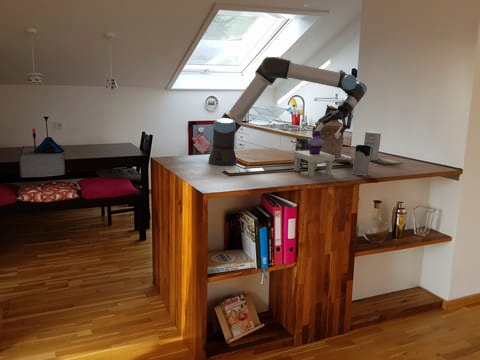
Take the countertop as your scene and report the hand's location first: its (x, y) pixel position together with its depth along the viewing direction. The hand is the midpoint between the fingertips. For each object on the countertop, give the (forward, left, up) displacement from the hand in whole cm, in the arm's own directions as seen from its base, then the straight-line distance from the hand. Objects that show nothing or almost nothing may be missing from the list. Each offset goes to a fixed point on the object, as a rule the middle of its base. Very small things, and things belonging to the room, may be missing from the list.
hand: (325, 135), depth 240 cm
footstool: (-9, -3, -19) cm, 21 cm away
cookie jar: (+29, +30, -19) cm, 46 cm away
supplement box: (+53, +17, -19) cm, 59 cm away
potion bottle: (-9, -3, -9) cm, 13 cm away
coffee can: (+2, +19, -19) cm, 27 cm away
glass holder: (+17, -13, -19) cm, 29 cm away
